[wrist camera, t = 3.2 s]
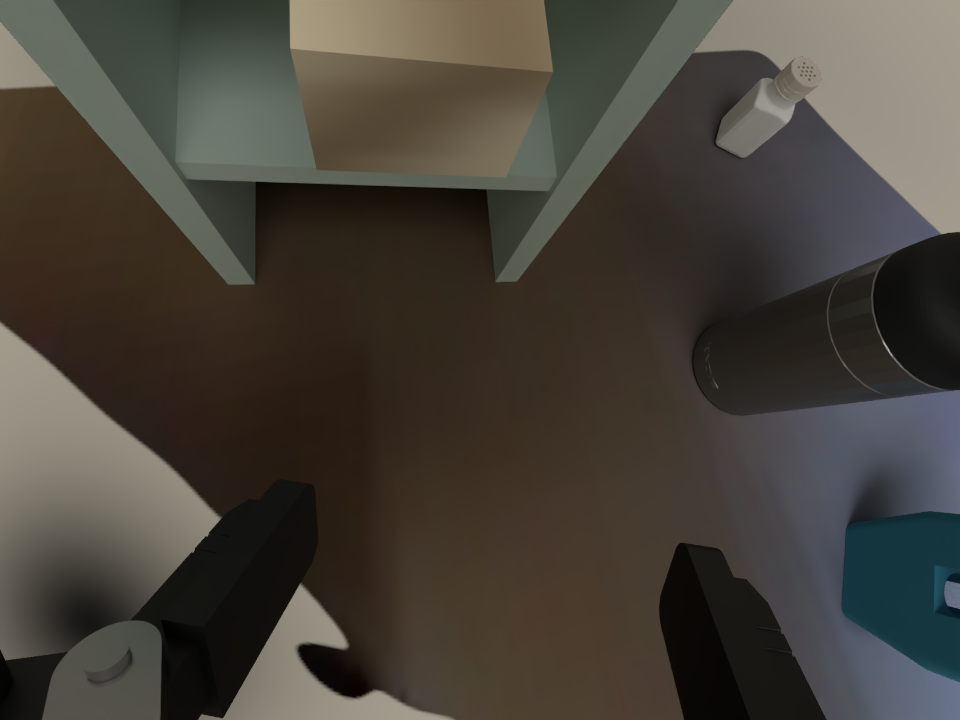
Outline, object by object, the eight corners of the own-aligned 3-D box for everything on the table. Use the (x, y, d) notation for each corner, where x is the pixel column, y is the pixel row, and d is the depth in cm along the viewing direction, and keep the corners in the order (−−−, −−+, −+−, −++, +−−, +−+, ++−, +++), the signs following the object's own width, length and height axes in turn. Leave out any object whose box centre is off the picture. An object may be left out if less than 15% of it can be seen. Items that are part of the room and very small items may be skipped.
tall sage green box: (500, 125, 46) (738, -536, 16) (516, 281, 43) (851, -154, 13) (230, 108, 41) (-211, -931, 10) (228, 284, 38) (-400, -439, 7)
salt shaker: (751, 133, 53) (828, 65, 43) (743, 162, 51) (821, 98, 42) (719, 117, 52) (791, 44, 43) (711, 146, 51) (783, 77, 42)
